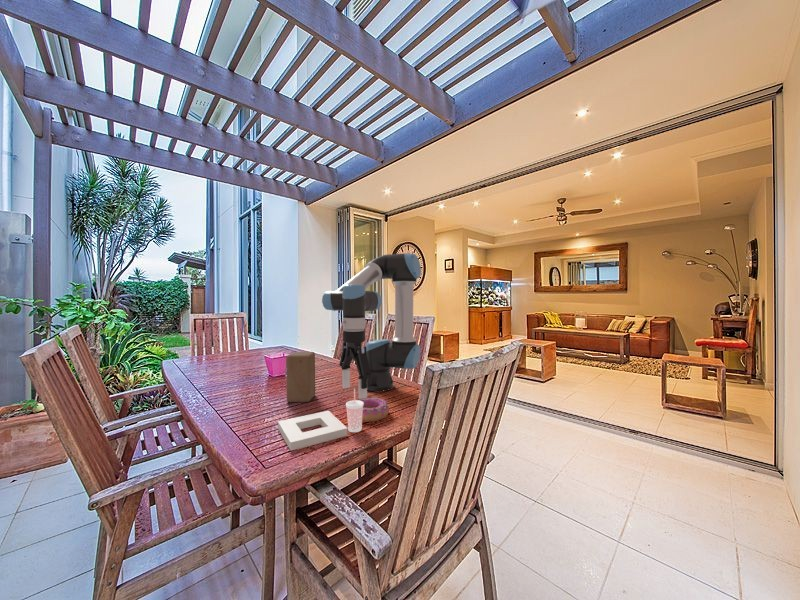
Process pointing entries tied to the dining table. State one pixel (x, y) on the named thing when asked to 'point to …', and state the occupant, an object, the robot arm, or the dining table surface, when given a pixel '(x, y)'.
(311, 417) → the socket plate
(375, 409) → the donut
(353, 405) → the beverage cup
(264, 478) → the dining table surface
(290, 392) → the wooden block
